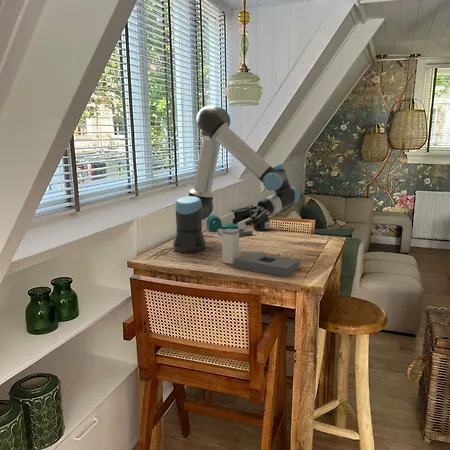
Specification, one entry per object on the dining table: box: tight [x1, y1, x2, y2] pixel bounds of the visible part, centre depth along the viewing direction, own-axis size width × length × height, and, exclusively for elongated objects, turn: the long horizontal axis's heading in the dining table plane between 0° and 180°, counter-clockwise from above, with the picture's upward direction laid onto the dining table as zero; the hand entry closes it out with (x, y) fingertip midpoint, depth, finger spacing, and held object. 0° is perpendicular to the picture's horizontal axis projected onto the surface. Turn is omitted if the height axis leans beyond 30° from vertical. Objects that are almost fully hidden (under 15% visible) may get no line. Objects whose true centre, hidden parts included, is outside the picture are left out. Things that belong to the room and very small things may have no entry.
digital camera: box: [232, 215, 252, 224], centre depth 249 cm, size 10×5×7 cm, turn 95°
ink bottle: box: [252, 216, 271, 232], centre depth 236 cm, size 10×9×12 cm
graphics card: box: [216, 226, 254, 237], centre depth 224 cm, size 17×4×12 cm
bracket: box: [206, 214, 238, 232], centre depth 238 cm, size 18×7×8 cm, turn 104°
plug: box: [221, 229, 240, 265], centre depth 176 cm, size 5×5×14 cm
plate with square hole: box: [234, 251, 301, 279], centre depth 168 cm, size 22×12×4 cm, turn 58°
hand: (229, 223), depth 183 cm, fingers open, 13 cm apart
